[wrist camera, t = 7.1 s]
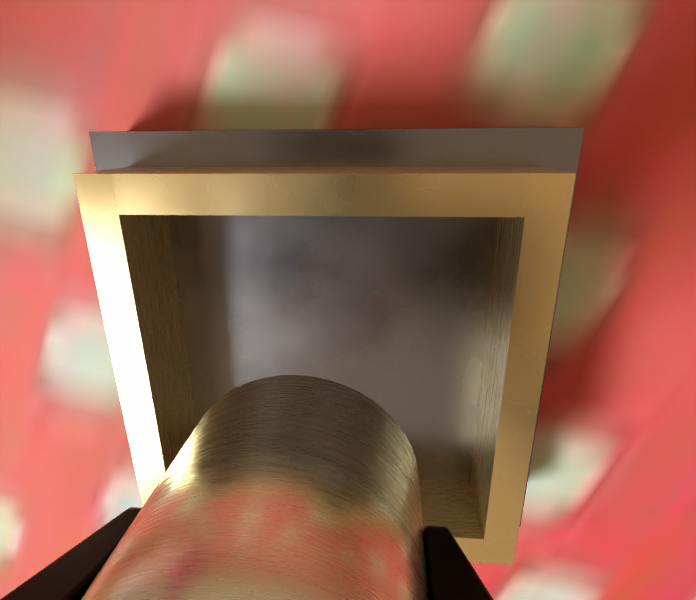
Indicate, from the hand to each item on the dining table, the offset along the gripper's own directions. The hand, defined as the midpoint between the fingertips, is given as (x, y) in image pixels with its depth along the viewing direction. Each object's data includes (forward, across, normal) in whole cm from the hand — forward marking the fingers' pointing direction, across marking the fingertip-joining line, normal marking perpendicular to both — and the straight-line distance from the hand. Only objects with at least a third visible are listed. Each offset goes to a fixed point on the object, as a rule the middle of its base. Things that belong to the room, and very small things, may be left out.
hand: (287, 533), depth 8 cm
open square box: (+9, 0, 0) cm, 9 cm away
